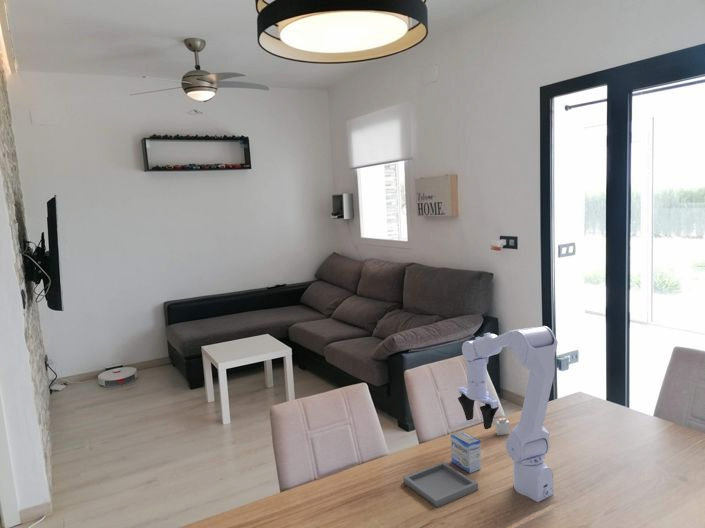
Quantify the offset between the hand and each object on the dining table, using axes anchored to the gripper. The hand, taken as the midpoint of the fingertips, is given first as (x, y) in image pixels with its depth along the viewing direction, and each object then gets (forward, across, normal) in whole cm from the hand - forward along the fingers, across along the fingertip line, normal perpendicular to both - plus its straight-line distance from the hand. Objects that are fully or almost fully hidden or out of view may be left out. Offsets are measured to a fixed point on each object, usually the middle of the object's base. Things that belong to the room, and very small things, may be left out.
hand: (478, 423), depth 150 cm
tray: (+9, -7, +21) cm, 24 cm away
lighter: (+10, +6, -14) cm, 18 cm away
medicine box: (+10, -3, +8) cm, 13 cm away
